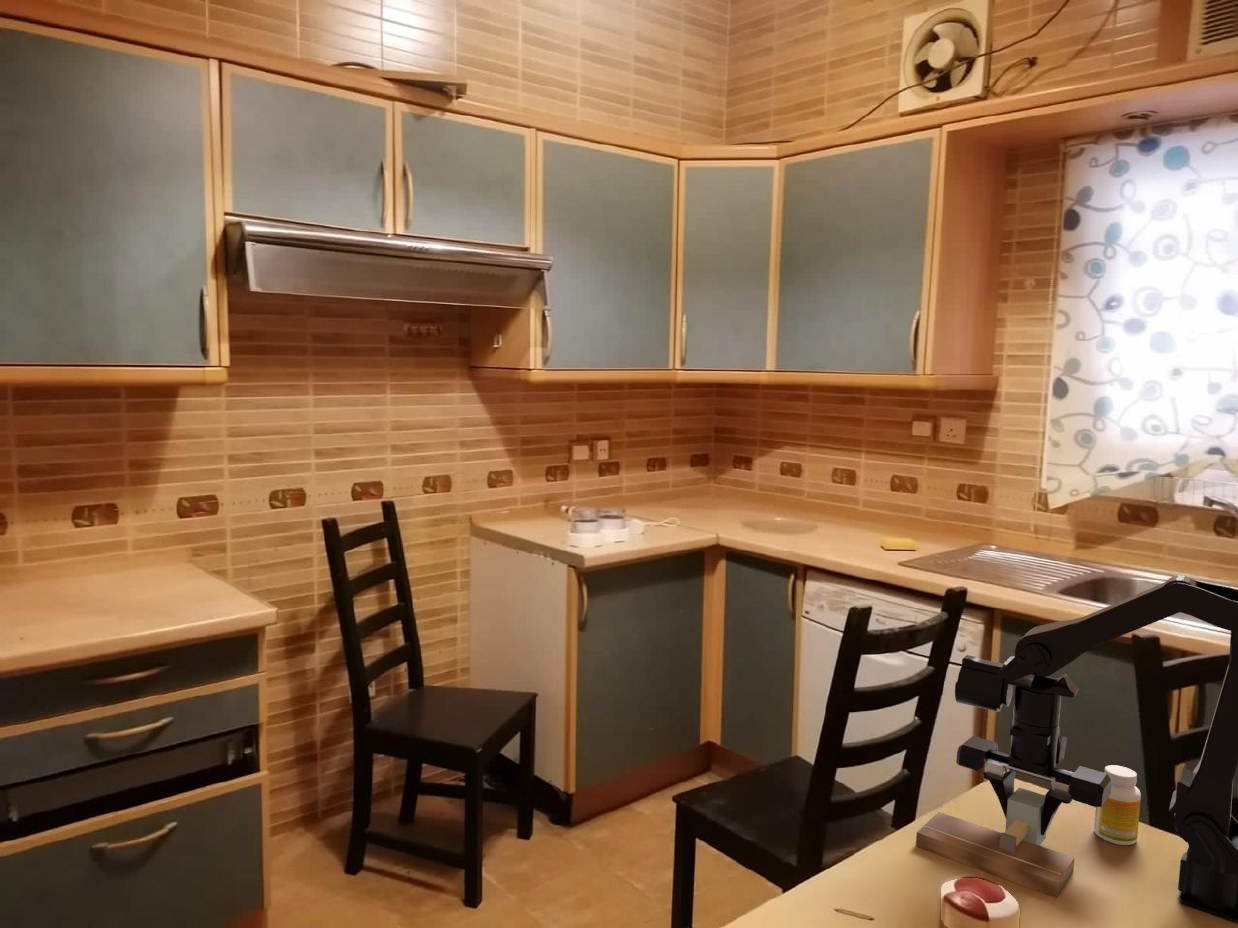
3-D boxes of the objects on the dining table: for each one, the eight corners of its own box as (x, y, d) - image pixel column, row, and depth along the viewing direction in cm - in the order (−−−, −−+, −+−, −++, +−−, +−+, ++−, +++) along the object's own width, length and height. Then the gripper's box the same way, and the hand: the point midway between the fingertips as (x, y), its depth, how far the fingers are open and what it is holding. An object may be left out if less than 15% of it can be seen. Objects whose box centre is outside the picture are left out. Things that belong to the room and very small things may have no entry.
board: (1073, 871, 118) (1074, 856, 118) (1056, 897, 112) (1057, 881, 112) (937, 824, 130) (938, 811, 130) (915, 845, 124) (916, 831, 123)
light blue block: (1045, 838, 125) (1049, 796, 124) (1021, 868, 116) (1025, 824, 116) (1015, 828, 128) (1019, 787, 127) (989, 857, 119) (993, 814, 118)
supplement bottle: (1145, 846, 125) (1151, 779, 124) (1106, 845, 125) (1111, 778, 124) (1124, 827, 131) (1129, 763, 130) (1086, 826, 131) (1092, 761, 130)
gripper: (1125, 722, 123) (1115, 830, 125) (985, 687, 135) (977, 787, 137) (1106, 746, 114) (1095, 862, 116) (959, 707, 126) (951, 813, 128)
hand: (1026, 828), depth 124 cm, fingers closed on light blue block, 4 cm apart
